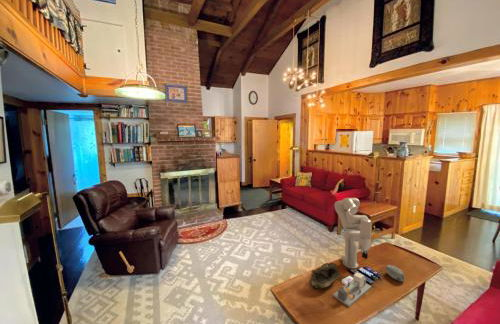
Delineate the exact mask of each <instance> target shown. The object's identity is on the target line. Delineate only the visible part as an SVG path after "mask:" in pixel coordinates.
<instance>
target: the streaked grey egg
mask: <svg viewBox="0 0 500 324" xmlns="http://www.w3.org/2000/svg"><path fill="white" fill-rule="evenodd" d="M385 272H386V273H387V275H388V276H389V277H390V278H391V279H393V280H396V281H399V282H404V281H405V279H406V277H405V274H404V272H403V270H401V269H400V268H398V267H397V266H395V265H392V264H388V265H386V266H385Z"/></svg>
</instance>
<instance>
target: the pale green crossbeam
mask: <svg viewBox="0 0 500 324" xmlns="http://www.w3.org/2000/svg"><path fill="white" fill-rule="evenodd" d="M358 285H359V282H357V281H356V282H354V283H353V284H352V285H350V286H349V287H348V288H346V289H345V291H346V294H347V293H350V291H351V290H352V289H354V288H355V287H356V286H358Z"/></svg>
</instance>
